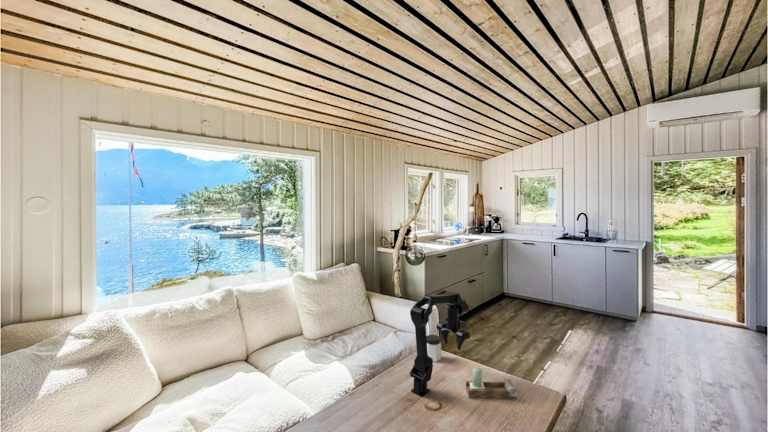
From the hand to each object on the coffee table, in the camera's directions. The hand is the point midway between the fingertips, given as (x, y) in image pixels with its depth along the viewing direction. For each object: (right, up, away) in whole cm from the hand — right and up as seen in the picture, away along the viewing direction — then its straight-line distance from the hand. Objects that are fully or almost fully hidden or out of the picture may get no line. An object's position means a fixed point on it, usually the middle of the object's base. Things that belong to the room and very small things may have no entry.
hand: (452, 346), depth 165 cm
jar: (-7, -14, +17) cm, 23 cm away
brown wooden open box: (+14, -14, -18) cm, 27 cm away
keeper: (+8, -12, -18) cm, 23 cm away
